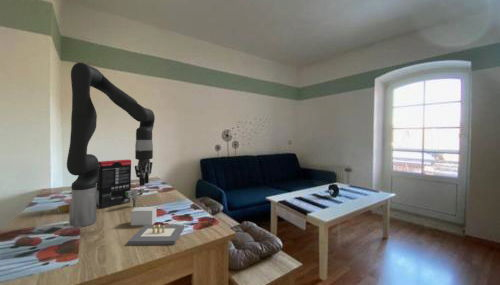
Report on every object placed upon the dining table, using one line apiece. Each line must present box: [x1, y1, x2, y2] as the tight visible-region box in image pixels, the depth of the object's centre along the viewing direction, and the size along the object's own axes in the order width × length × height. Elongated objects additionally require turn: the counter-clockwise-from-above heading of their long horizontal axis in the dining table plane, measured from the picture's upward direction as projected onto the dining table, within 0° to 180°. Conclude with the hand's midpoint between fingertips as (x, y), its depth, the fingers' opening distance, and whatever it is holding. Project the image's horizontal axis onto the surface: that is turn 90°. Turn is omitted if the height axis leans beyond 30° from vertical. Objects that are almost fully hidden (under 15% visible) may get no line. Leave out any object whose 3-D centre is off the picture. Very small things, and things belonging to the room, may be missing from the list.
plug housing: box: [130, 206, 157, 226], centre depth 99 cm, size 10×5×7 cm, turn 93°
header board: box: [127, 224, 185, 246], centre depth 87 cm, size 18×14×2 cm
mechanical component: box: [125, 188, 144, 208], centre depth 121 cm, size 3×10×10 cm, turn 148°
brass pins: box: [152, 224, 166, 233], centre depth 87 cm, size 5×1×3 cm, turn 93°
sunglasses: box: [57, 203, 72, 214], centre depth 117 cm, size 14×15×5 cm
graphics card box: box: [96, 159, 132, 209], centre depth 124 cm, size 17×7×27 cm, turn 144°
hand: (144, 184), depth 99 cm, fingers open, 3 cm apart
